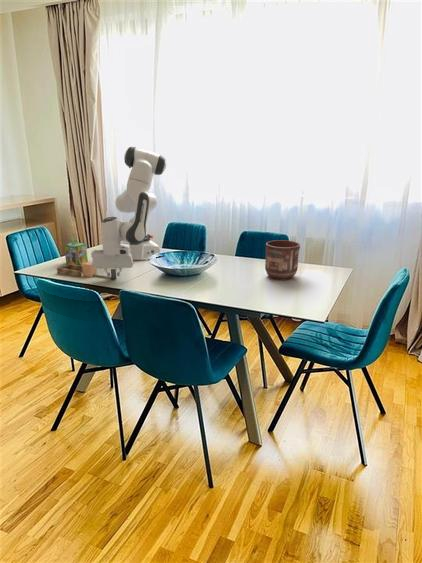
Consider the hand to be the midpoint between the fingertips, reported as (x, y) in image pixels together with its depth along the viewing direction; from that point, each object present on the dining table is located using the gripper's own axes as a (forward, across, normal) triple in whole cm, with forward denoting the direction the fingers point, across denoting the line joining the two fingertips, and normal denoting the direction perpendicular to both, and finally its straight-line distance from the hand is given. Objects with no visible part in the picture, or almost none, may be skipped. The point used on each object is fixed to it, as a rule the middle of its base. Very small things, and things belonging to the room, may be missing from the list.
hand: (113, 275), depth 214 cm
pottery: (+2, +87, 0) cm, 87 cm away
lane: (+2, -22, +12) cm, 26 cm away
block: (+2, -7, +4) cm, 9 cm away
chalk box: (+2, -26, +31) cm, 41 cm away
